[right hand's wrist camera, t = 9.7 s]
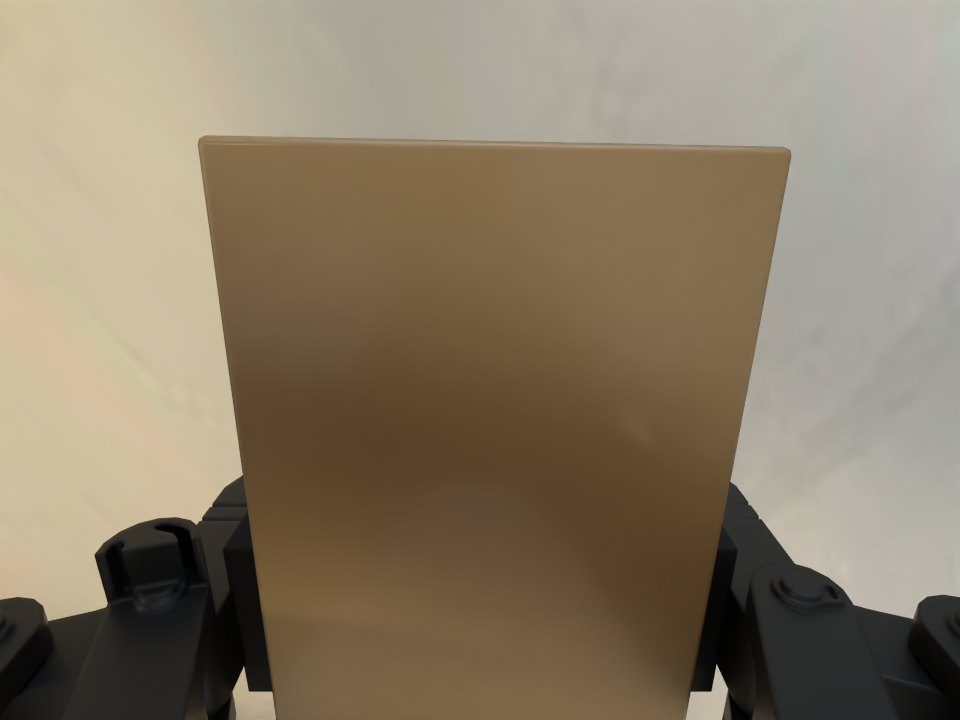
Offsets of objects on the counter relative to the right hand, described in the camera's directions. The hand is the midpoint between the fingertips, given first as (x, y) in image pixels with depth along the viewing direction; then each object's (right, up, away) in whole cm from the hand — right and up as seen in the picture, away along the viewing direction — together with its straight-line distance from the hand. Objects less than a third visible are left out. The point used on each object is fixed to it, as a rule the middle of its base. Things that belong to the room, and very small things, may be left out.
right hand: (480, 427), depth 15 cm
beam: (0, -24, +9) cm, 26 cm away
